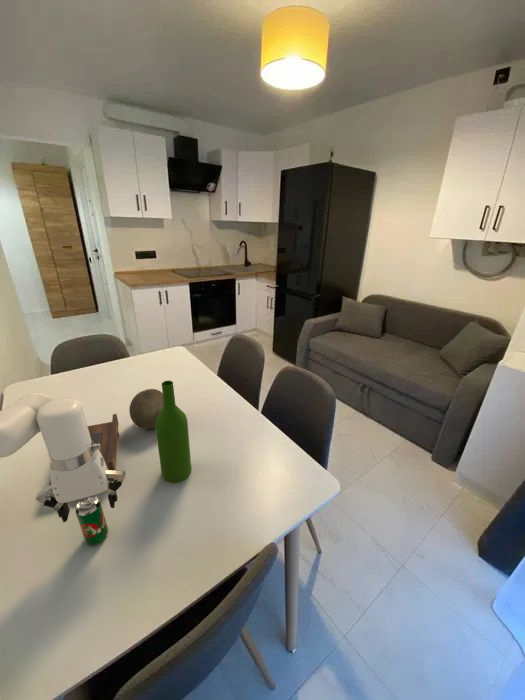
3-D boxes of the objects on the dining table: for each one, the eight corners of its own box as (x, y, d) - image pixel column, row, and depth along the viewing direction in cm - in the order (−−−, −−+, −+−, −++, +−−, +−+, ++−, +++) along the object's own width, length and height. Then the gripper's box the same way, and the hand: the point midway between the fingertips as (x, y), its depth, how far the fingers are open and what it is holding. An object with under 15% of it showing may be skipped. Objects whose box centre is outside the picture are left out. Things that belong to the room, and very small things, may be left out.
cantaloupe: (128, 440, 103) (122, 405, 97) (136, 416, 116) (130, 383, 110) (169, 436, 106) (166, 401, 100) (172, 412, 119) (169, 381, 113)
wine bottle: (192, 459, 96) (185, 374, 83) (190, 481, 88) (183, 390, 75) (164, 462, 95) (152, 375, 81) (160, 485, 87) (146, 392, 73)
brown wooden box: (54, 501, 80) (45, 477, 77) (70, 443, 101) (63, 423, 97) (117, 484, 86) (112, 462, 82) (120, 433, 106) (116, 413, 103)
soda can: (99, 523, 75) (90, 490, 70) (113, 532, 73) (104, 499, 68) (80, 540, 71) (69, 507, 66) (94, 550, 69) (84, 516, 64)
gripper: (118, 433, 67) (130, 486, 74) (29, 452, 61) (50, 508, 68) (117, 455, 61) (130, 511, 68) (16, 479, 55) (42, 537, 62)
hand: (90, 509), depth 68 cm, fingers open, 9 cm apart
